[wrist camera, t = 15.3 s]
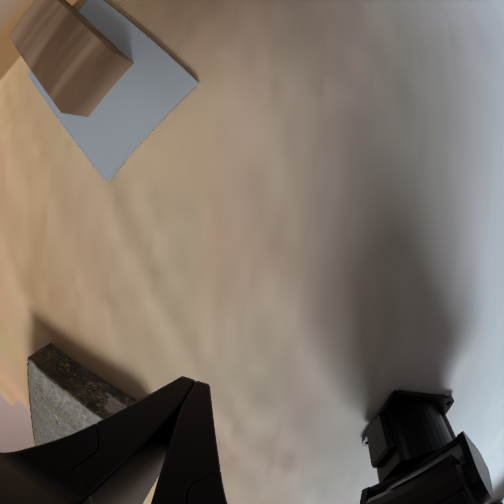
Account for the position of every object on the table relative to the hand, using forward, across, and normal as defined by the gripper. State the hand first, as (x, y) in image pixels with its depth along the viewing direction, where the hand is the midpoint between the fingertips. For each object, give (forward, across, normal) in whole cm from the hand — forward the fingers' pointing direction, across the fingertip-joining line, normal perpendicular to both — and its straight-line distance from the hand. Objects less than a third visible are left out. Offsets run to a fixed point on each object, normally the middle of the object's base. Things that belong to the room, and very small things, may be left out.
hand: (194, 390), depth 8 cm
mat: (+12, +14, -11) cm, 22 cm away
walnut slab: (+10, +12, -10) cm, 19 cm away
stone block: (+13, +14, +24) cm, 30 cm away
